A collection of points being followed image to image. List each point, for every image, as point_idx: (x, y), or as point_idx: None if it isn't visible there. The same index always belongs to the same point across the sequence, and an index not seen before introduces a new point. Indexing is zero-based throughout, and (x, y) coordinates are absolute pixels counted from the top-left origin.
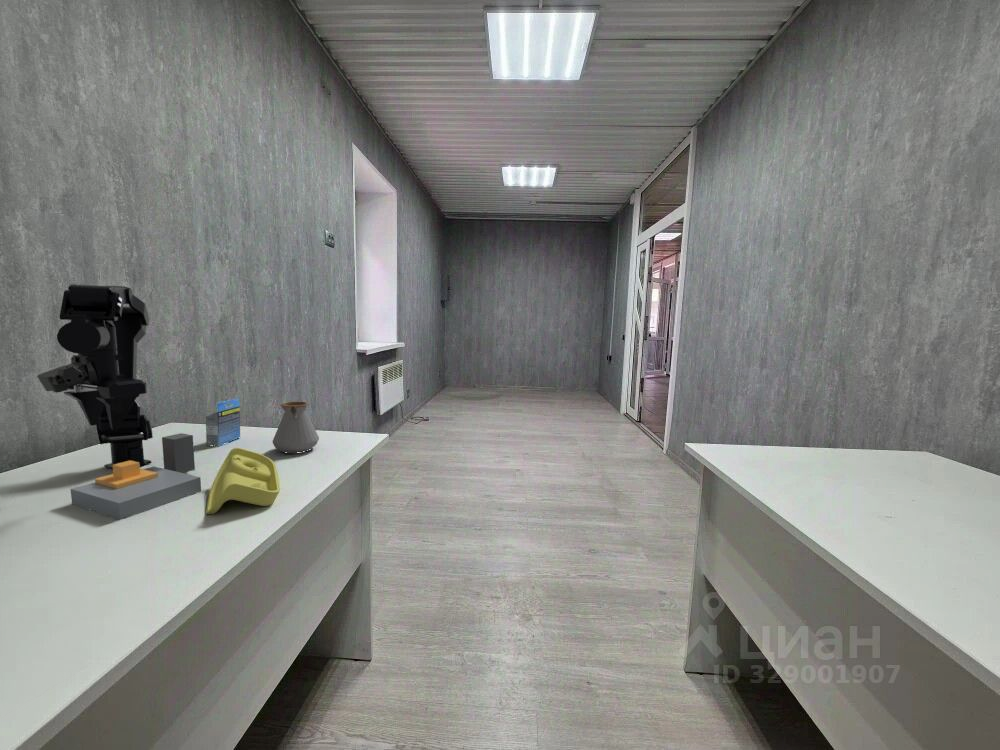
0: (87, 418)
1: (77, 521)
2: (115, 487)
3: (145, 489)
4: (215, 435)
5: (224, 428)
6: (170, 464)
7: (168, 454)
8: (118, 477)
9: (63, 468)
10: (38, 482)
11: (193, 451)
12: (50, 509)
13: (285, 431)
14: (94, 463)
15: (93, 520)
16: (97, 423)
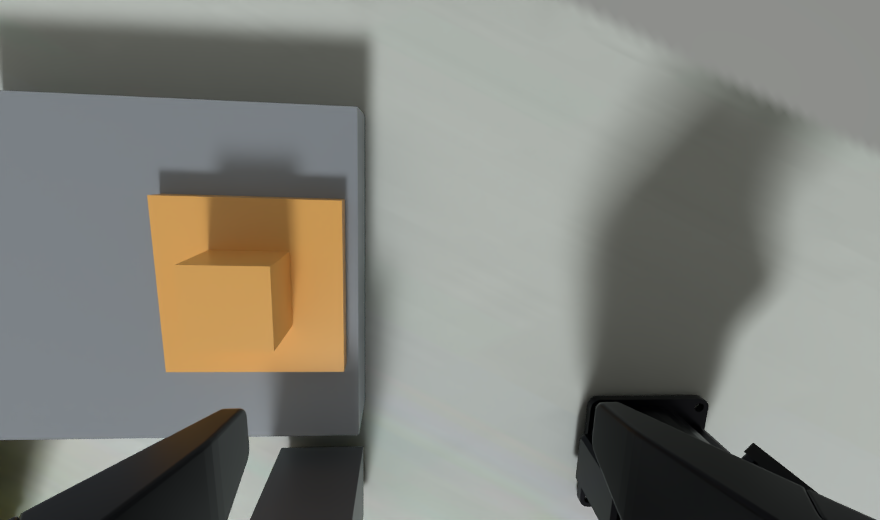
0: (659, 430)
1: (138, 20)
2: (169, 194)
3: (33, 243)
4: None
5: None
6: (307, 477)
7: (307, 515)
8: (243, 252)
9: (840, 323)
10: (756, 196)
11: None
12: (380, 49)
13: None
14: (788, 405)
15: (92, 51)
16: (596, 453)
